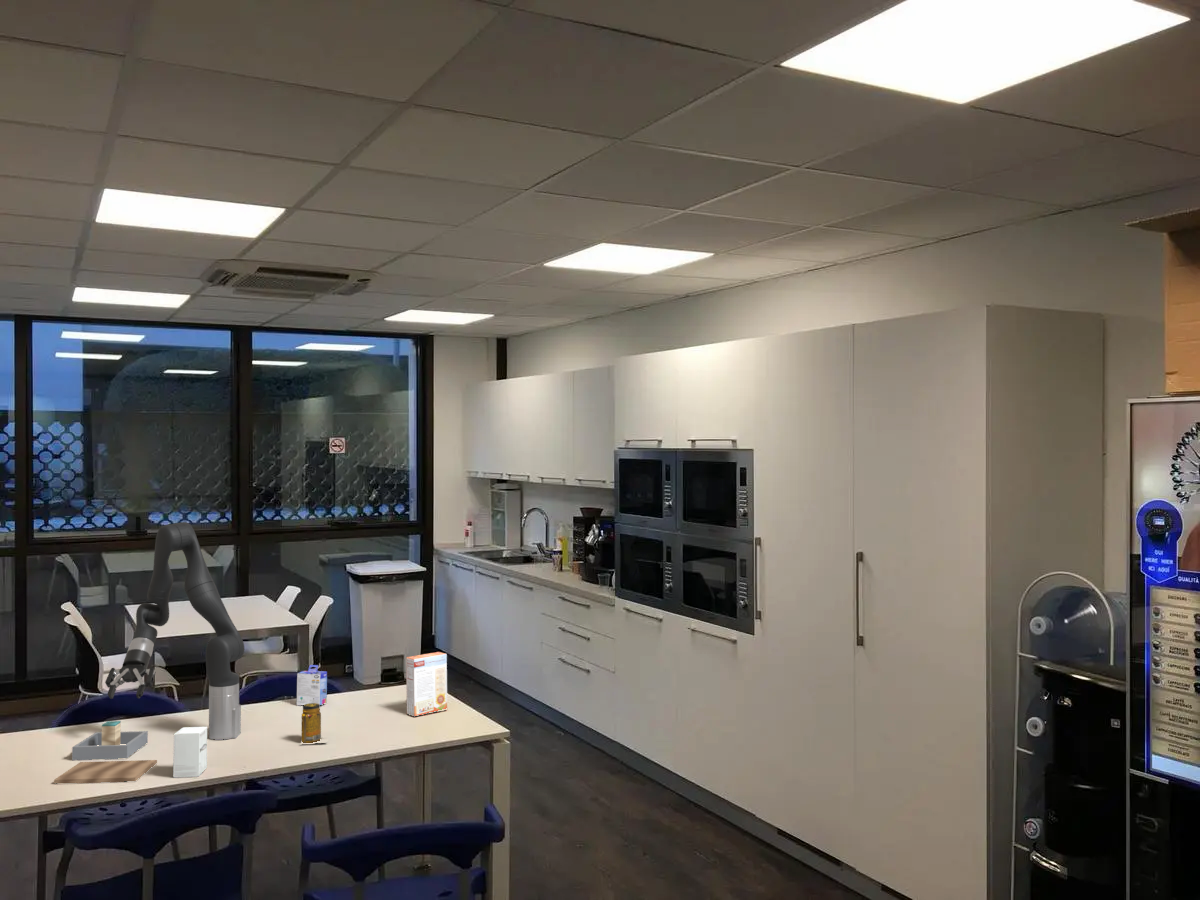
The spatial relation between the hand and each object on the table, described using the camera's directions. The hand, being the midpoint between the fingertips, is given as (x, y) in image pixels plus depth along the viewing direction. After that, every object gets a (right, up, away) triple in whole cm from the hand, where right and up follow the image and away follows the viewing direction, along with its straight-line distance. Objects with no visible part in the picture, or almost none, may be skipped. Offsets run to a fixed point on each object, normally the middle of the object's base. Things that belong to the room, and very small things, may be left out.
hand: (124, 697), depth 303 cm
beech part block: (+1, -14, -10) cm, 18 cm away
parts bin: (+1, -14, -10) cm, 18 cm away
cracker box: (+91, -15, +36) cm, 99 cm away
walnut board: (+11, -14, -31) cm, 36 cm away
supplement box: (+35, -14, -31) cm, 49 cm away
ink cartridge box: (+46, -16, +48) cm, 68 cm away
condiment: (+61, -15, 0) cm, 63 cm away
